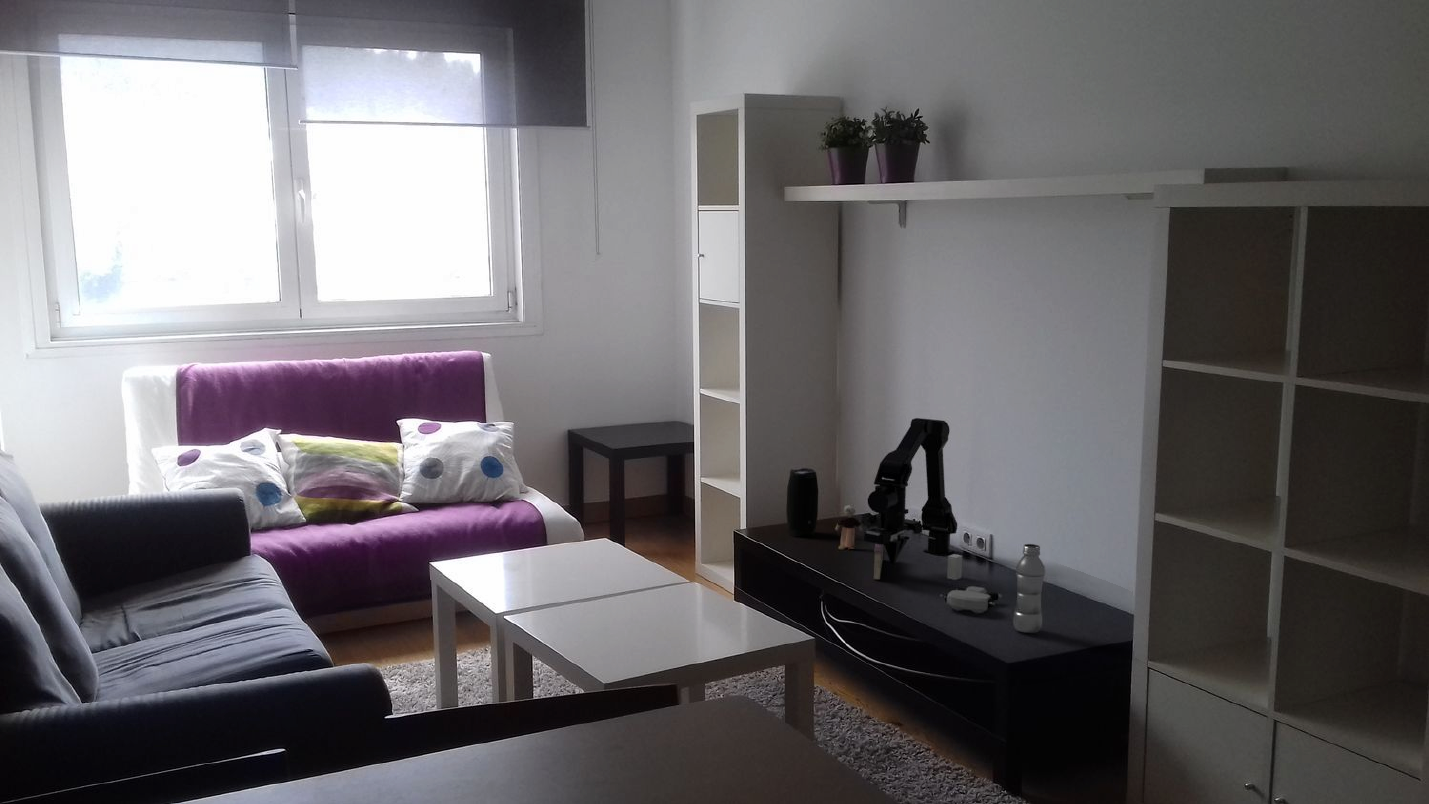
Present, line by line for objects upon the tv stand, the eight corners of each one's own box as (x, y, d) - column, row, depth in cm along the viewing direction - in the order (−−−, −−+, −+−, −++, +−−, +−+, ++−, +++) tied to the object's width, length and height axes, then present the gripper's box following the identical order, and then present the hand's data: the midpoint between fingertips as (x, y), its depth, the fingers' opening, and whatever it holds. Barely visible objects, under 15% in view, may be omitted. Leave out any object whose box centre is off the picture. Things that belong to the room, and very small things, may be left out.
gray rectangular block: (953, 576, 320) (954, 554, 319) (961, 577, 318) (962, 555, 317) (947, 578, 317) (948, 556, 317) (954, 580, 316) (956, 557, 315)
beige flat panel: (876, 557, 335) (877, 531, 334) (884, 557, 335) (885, 531, 334) (872, 578, 314) (873, 550, 313) (881, 579, 313) (882, 551, 312)
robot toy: (954, 599, 302) (938, 611, 288) (955, 582, 301) (939, 592, 288) (1003, 607, 296) (989, 619, 283) (1005, 589, 296) (991, 600, 282)
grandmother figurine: (835, 550, 344) (837, 506, 343) (834, 546, 348) (835, 503, 347) (862, 550, 345) (864, 506, 343) (860, 547, 349) (862, 504, 347)
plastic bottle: (1038, 627, 278) (1042, 542, 275) (1044, 636, 271) (1049, 550, 268) (1009, 626, 278) (1014, 541, 275) (1015, 636, 271) (1020, 549, 268)
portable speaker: (818, 538, 358) (820, 473, 356) (787, 537, 358) (788, 472, 355) (815, 531, 367) (816, 467, 364) (784, 530, 366) (785, 467, 364)
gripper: (889, 494, 327) (888, 550, 330) (847, 506, 314) (846, 564, 316) (924, 501, 320) (922, 558, 322) (882, 513, 306) (881, 572, 309)
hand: (892, 563), depth 317 cm, fingers closed
